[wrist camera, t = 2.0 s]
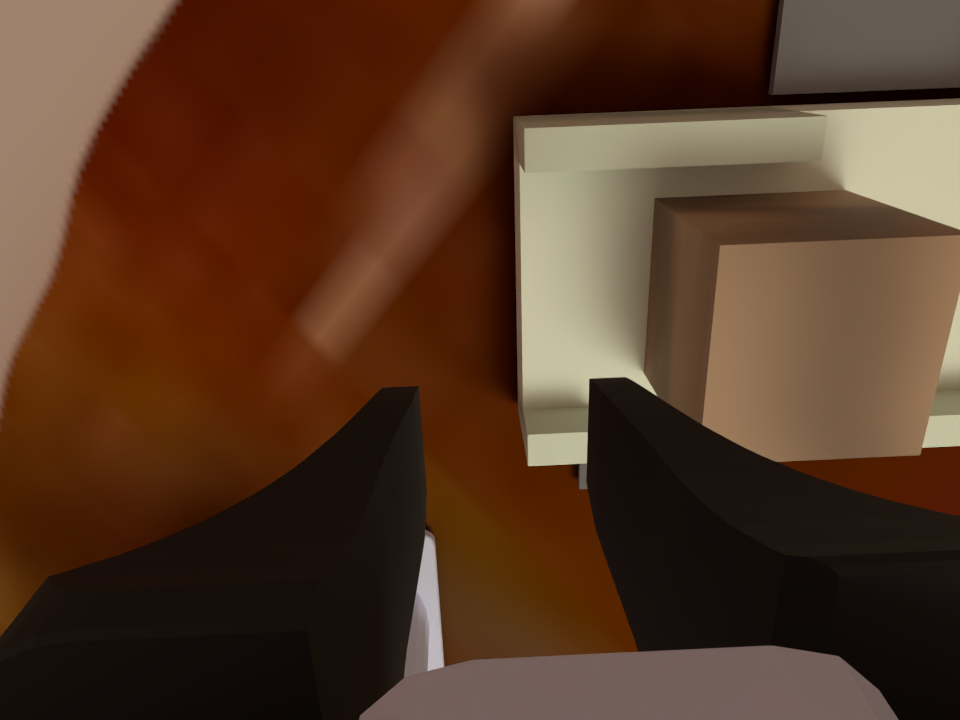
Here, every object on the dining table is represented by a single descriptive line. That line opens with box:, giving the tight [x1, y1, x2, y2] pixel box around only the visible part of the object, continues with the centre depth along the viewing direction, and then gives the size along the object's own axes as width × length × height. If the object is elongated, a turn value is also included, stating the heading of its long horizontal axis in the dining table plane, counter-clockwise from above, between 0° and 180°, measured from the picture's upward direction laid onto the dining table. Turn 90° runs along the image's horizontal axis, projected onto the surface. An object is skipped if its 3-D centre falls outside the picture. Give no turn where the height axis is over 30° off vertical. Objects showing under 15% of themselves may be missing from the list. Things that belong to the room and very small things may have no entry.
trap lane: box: [513, 98, 960, 466], centre depth 19 cm, size 17×9×5 cm, turn 92°
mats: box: [578, 0, 960, 489], centre depth 21 cm, size 11×15×1 cm
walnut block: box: [644, 190, 960, 462], centre depth 17 cm, size 5×5×5 cm
